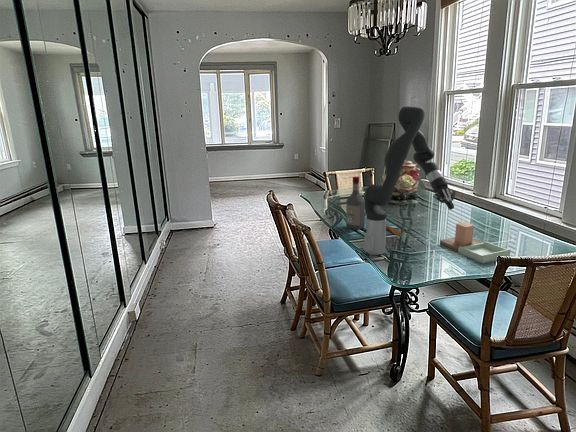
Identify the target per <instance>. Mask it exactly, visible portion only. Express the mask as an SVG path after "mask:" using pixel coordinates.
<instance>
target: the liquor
mask: <svg viewBox="0 0 576 432" xmlns="http://www.w3.org/2000/svg"><path fill="white" fill-rule="evenodd" d="M345 206H346V207H345V209H346V213H345V214H346V216H345V218H346V220H345V222H346V223H345V224H346V228H347V229H349V230H354V231H359V230H358V229H360V230H362V229H363V228H365V224H366V222H365V220H366V219H365V216H366V215H365V214H366V212H365V197H363V196H362V195H361V194H360V177H359V176H352V192H351V194H350V196H348V197H347V199H346V205H345ZM361 228H362V229H361Z"/></svg>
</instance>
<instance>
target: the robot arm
mask: <svg viewBox="0 0 576 432" xmlns="http://www.w3.org/2000/svg"><path fill="white" fill-rule="evenodd" d="M425 116H426V112H425V109H424V108H423V107H421V106H419V107H418V106H407V105H406V106H402V107H401V108H400V110H399V112H398V122H399V125H401V127H402V129H403V131H404V133H403V134H401V135H400V136H399V137H398V138H397V139H396V140H394V141H393V142H392V143H391V144H390V145H389V146H388V149H387V151H386V154H385V156H384V158H383V160H384V161H383V162H384V168H385V172H386V173H385V174H386V178H385V181H384V183H383V185H382V184H375V183H374V184H373V183H371V184H369V185H368V186H367V188H366V190H365V192H364V200H365V214H366V215H365V216H366V225H365V226H366V227H365V228H366V229H365V230H366V232H364V241H363V243H364V244H363V245H364V246H363V247H364V248H363V250H364V251H363V252H365V253H367V254H369V255H370V256H380V255H379V254H381V255H383V253H384V254H386V237H387V230H386V224H387V212H386V211H385V209H384V210H383V209H382V208H381V206H384V207H385V206H387V205H388V204H389V203H390V202H389V201H390V199H391V196H392V193H393V190H394V187H395V184H396V181H397V178H398V175H399V173H400V170H401V168H402V166H403V164H404V161H405V160H407V157H408V154H409V151H410V149H411V146H412V147H413V150H414V151H415V152H414V154H413V156H412V157H413V158H412V159H413V160H414V162H415V164H416V163H417V165H418V166H419V168H421V169H422V170H423V172H424V174H425V176H426V178H427V181H428V183H429V184H430V186H431V188H432V190H433V192H434V194H433V198H434V199H436V200H437V201H438V202H440V203H441V204H444V205H446V207H447V209H449V210H453V209H454V208H455V205H454V203H453V201H454V199H455V196H456V191H455V190H451V188H450V187H448V185H449V183H448V182H447V180H446V178H445V176H444V175H443V173H442V171H441V170H440V168H439V167H438V164H437V163H436V162H435V161H430V160H433V159H434V157H435V152H434V150H433V148H431V147H430V146H429V144H428V141H427V138H426V136H425V134H424V133H423V132H422V131H420V129H421V127H422V125H423V122H424V120H425ZM429 161H430V162H429Z"/></svg>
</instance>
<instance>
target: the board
mask: <svg viewBox="0 0 576 432" xmlns="http://www.w3.org/2000/svg"><path fill="white" fill-rule="evenodd" d="M480 243H484V242H483V241H481V240H479V239H475V238H473V239H472V243H470V244H465V245H463V244H461V243H459V242H456V241H455V236H454V237H449V238H445V239H440V240H439V246H441V247H443V248H446V249H448V250H450V251H453V252H455V253H457V254H459V253H458V248H459V246H461V247H465V246H470V245H475V244H480Z"/></svg>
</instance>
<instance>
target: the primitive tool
mask: <svg viewBox="0 0 576 432" xmlns="http://www.w3.org/2000/svg"><path fill="white" fill-rule="evenodd" d="M386 231H388V232H389V233H391V234H392V235H394V236H395V237H396V236H403V235H404V233H403V232H402V231H399V230H398V229H396V228H393V227H392V226H389V225H388V224H387V223H386Z"/></svg>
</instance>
